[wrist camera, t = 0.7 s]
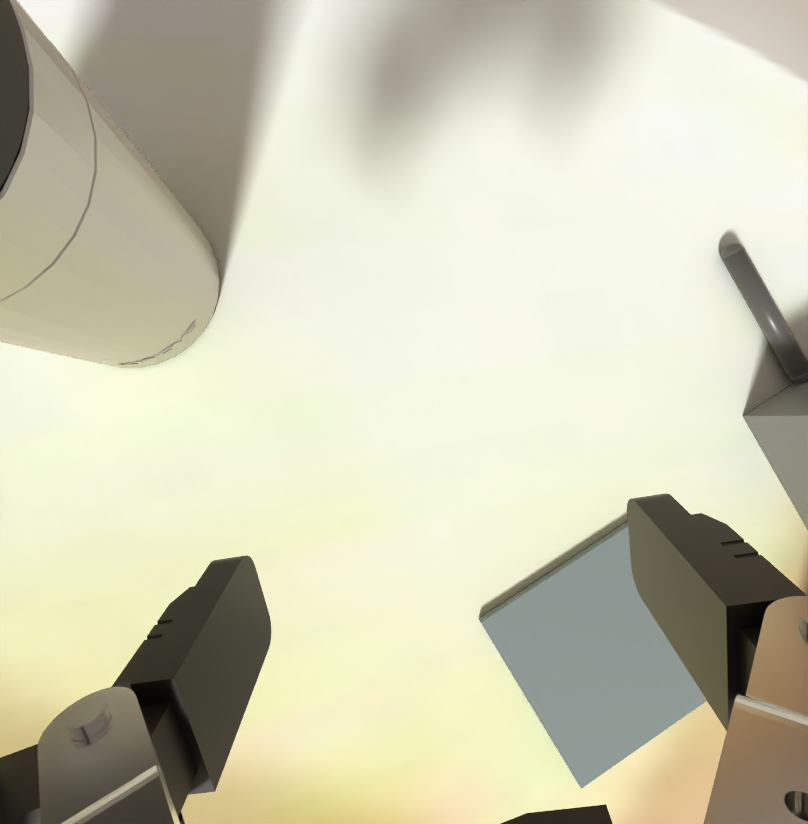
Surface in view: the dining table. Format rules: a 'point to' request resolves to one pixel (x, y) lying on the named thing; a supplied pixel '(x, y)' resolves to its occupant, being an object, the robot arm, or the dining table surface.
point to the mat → (593, 658)
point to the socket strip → (792, 407)
